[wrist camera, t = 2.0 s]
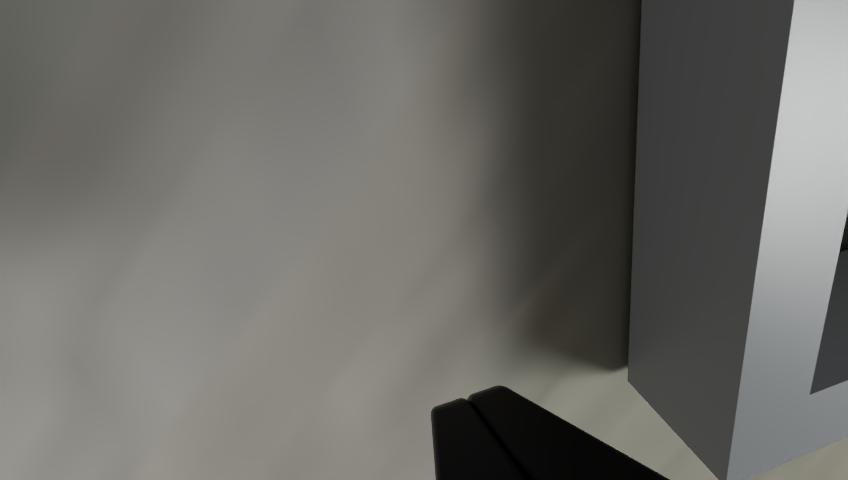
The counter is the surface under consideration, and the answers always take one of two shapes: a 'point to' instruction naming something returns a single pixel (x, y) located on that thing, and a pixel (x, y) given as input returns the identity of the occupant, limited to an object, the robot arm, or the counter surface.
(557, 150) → the counter surface
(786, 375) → the socket block
